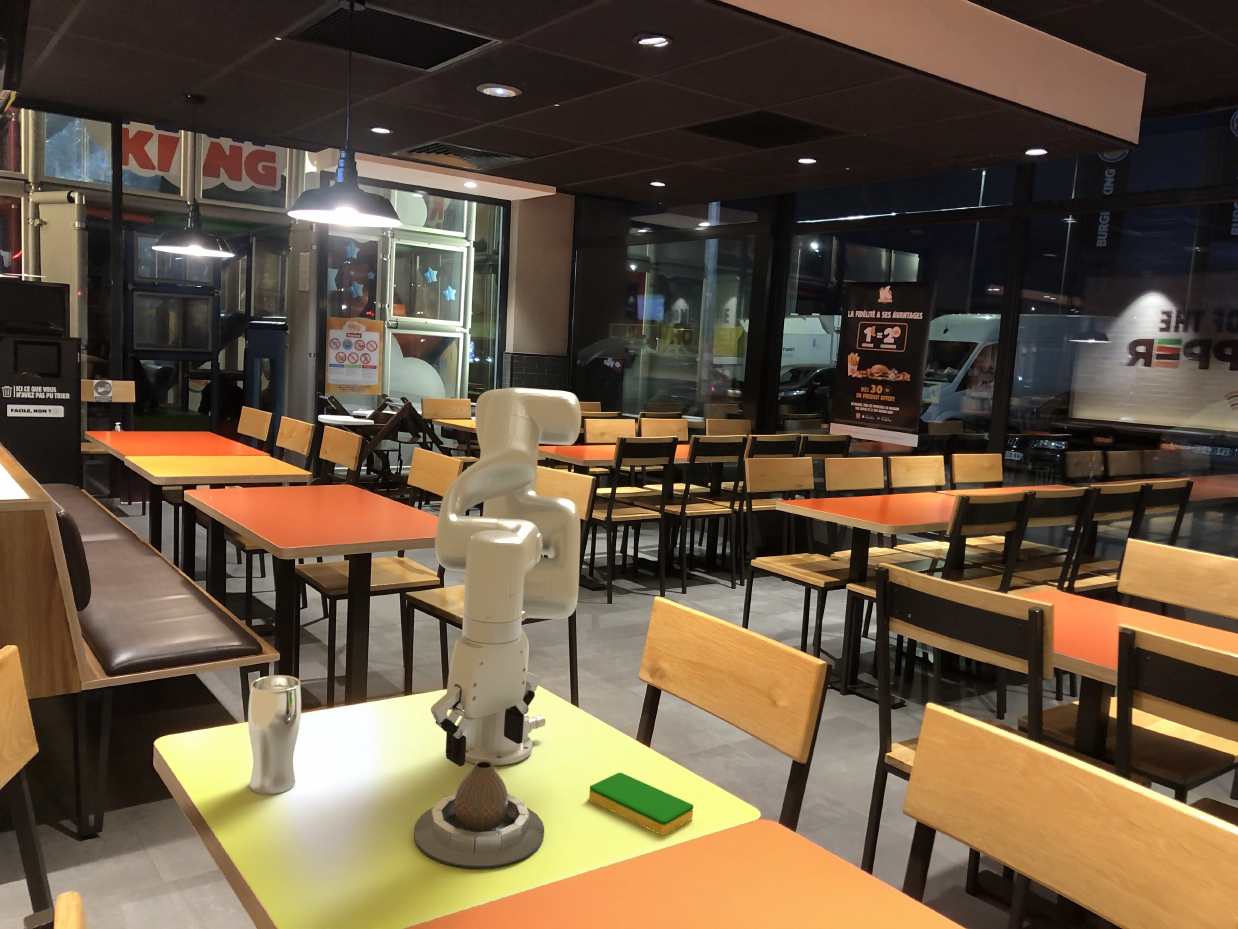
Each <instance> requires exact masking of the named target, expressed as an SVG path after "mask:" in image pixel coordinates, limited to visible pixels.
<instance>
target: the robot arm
mask: <svg viewBox="0 0 1238 929" xmlns="http://www.w3.org/2000/svg"><path fill="white" fill-rule="evenodd" d="M474 411H475V412H474V414H475V420H474V421H475V430H476V436H477V442H478V445H479V449H480V456H479V460H477V461H476V462H475V463H473V464H471V465H469V467H467V468H466V469H464V471H462V472H461V473H460V474H459V475H458V476H457V477H456V478H455V479H454V480H453V481H452V483H451V484H450V485H449V486H448V488H447V489H446V491H445V493H444V495H443V497H442V501H441V504H440V509H439V515H438V520H437V526H436V532H435V538H434V539H435V540H434V553H435V557H436V560H437V562H438V563H439V564H440V566H441V567H442V568H444V569H445V570H449V571H454V572H465V573H464V590H463V591H464V592H463V594H464V595H463V607H462V608H463V611H462V632H461V636H460V637H457V638H456V641H455V643H454V646H453V647H454V648H453V651H452V654H451V659H450V664H449V670H448V678H447V686H446V687H447V688H446V694H443V696H442V697H441V698H439V699H438V700H437V701H436V702H435V703H434V704H433V705H432V706H431V707H430V712H431V714H432V716H433V719H434V720H435V724H436V725H437V726H438V727H439V728H440V729H442V731H444V732H445V733H446V736H445V737H446V738H445V739H446V740H445V758H446V759H447V760H448V761H450V762H451V763H453V764H455V765H456V766H458V767H462V766H465V764H466V762H469V763H472V764H475V763H476V762H478V761H489V762H491V763H492V764H493V766H505V765H510V764H515V763H519V762H520V761H524V760H525V759H526V758H528V757H529V756H530V755H531V753H532V751H533V740H532V739H531V737H529V734H531V733H532V731H533V730H536V729H539V728H542V727H545V725H546V718H545V717H544V715H542V714H539V715H536V716H533V717H529V714H528V712H529V706H530V704H531V703H532V701H533V700H534V698H535V696H536V694H535V693H536V691H537V689H538V686H539V684H540V682H541V676H539V675H536V674H534V673H532V672H529V671H528V670H529V657H530V653H529V652H530V646H529V640H528V637H527V635H526V633H525V631H524V630H523V627H522V622H523V621H525V620H526V618H527V619H543V620H544V619H546V620H549V619H551V620H562V619H566V618H569V617H570V616H572V615H573V614H574V612H575V610H576V607H577V604H578V599H579V598H578V597H579V585H580V583H579V582H580V558H581V557H580V555H581V554H580V553H581V517H580V512H579V509H578V507H577V505H576V503H575V502H574V501H572V500H571V499H568V498H566V497H565V498H564V497H560V496H559V497H558V496H546V495H545V496H544V495H538V494H537V491H538V489H537V488H538V479H539V478H538V476H539V475H538V459H539V458H538V457H539V446H540V445H541V444H545V445H556V446H557V445H558V446H560V445H561V446H573V444H575V442H576V441H577V439H578V437H579V434H580V430H581V425H582V409H581V405H580V401H579V398H578V397H577V395H576V394H575V393H573V392H569V391H566V390H565V391H564V390H559V389H557V390H555V389H554V390H553V389H544V388H543V389H542V388H541V389H540V388H528V387H508V388H507V387H506V388H497V389H495V388H494V389H491V390H486V391H485V392H483V393H482V394H480V395H479V396H478V398H477V401H476V403H475V410H474ZM539 444H540V445H539ZM481 503H483V509H482V516H477V515H463V514H464V513H465V512H467V510H469V509H471V508H473V507H474V506H476V505H478V504H481ZM542 555H545V556H548V557H543V556H542ZM449 710H450V713H449V715H448V711H449ZM459 717H461V718H460V720H459V722H458V724H457V725H456V722H457V721H458V719H459Z"/></svg>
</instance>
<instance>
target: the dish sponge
mask: <svg viewBox="0 0 1238 929" xmlns="http://www.w3.org/2000/svg"><path fill="white" fill-rule="evenodd" d="M588 799H589V801H591V802H593V803H595V802H596V803H595V804H597V803H598V804H597V805H599V804H600V805H599V806H601V807H603V806H604V807H603V808H605V807H606V808H605V809H607V808H608V809H607V810H609V809H611V810H613V811H615V812H616V814H617V813H618V815H619V814H621V815H623V816H622V817H624V816H625V817H624V818H626V817H627V818H626V819H628V818H629V819H628V820H630V819H631V820H630V821H632V820H633V821H632V822H634V821H636V822H637V823H636V822H635V823H636V824H638V823H640V824H641V825H640V824H639V825H640V826H642V825H643V826H642V827H644V826H645V827H644V828H646V827H648V828H650V829H651V831H652V830H654V831H655V832H654V831H653V832H654V833H656V832H658V833H659V834H658V833H657V834H658V835H661V834H663V835H662V836H665V835H667V834H669V833H670V831H671V832H672V831H674V830H676V829H677V827H678V826H679V827H681V826H682V825H681V824H683V823H685V822H686V821H688V820H689V819H691V818H692V819H693V815H694V814H693V813H694V805H693V804H692V803H690V802H687V801H685V800H683V799H680V798H678V797H676V796H674V795H671V794H670V793H667V792H665V791H663V790H661V789H659V788H656V787H654V786H652V785H649V784H647V783H646V782H643V781H641V780H638V779H636V778H634V777H631V776H630V775H627V774H625V773H623V772H617V773H615V774H612V775H610V776H608V777H606V778H604V779H602V780H600V781H598V782H596V783H594V784H591V785H590V786H589V797H588ZM611 810H610V811H611ZM613 811H612V812H613ZM615 812H614V813H615ZM621 815H620V816H621ZM688 822H689V821H688ZM686 823H687V822H686ZM686 823H685V824H686ZM680 825H681V826H680ZM683 825H684V824H683ZM679 827H678V828H679ZM648 828H647V829H648ZM675 828H676V829H675ZM650 829H649V830H650ZM673 829H674V830H673Z"/></svg>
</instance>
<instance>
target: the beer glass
mask: <svg viewBox="0 0 1238 929" xmlns="http://www.w3.org/2000/svg"><path fill="white" fill-rule="evenodd" d="M247 709H248V710H247V711H248V712H247V716H248V717H247V719H248V720H247V722H248V724H247V726H248V733H249V737H250V738H249V740H250V745H251V751H252V752H251V753H252V760H253V762H252V770H251V771H252V772H251V776H250V780H249V789H250V790H251V791H252V792H253V793H255V794H258V795H266V796H270V795H271V796H272V795H278V794H283V793H285V792H288V791H289V790H291V789H292V788H293V787H294V786H295V785H296V775H295V770H294V753H295V748H296V743H297V739H298V734H299V729H300V723H301V716H302V692H301V681H300V679H299V678H297V677H294V676H291V675H286V674H285V675H283V674H282V675H281V674H278V675H277V674H275V675H274V674H273V675H267V676H263V677H262V676H261V677H259V678H256V679H255V680H253V681H252V682H251V683H250V691H249V699H248V708H247Z"/></svg>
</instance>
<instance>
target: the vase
mask: <svg viewBox="0 0 1238 929" xmlns="http://www.w3.org/2000/svg"><path fill="white" fill-rule="evenodd" d="M473 764H474V765H473V766H472V768H471V769H470V771H469V772H468V773H467V774H466V775H465V776H464V777H463V779H462V780H461V781H460V783H459V785H458V787H457V790H456V792H455V794H456V797H455V813H456V817H457V820H458V822H459V824H460V825H461V826H462V827H463V828H464V829H465V830H466V831H472V832H487V831H494V830H495V829H496V828H498V827H499V825H500V824H501V823H502V821H503V819H504V817H505V815H506V811H507V805H508V795H507V793H508V791H507V786H506V785H505V781H504V780H503V779H502V777H501V776H500V775H499V773H498V771H496V770H495V765H493V764H492V763H491V762H489V761H478V762H476V763H473Z"/></svg>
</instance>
